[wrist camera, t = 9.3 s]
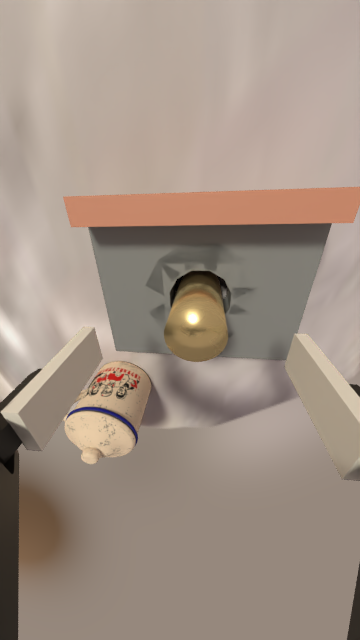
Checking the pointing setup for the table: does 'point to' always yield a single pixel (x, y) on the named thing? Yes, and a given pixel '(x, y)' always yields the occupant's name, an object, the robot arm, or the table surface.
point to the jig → (212, 259)
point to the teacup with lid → (109, 412)
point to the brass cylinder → (197, 318)
